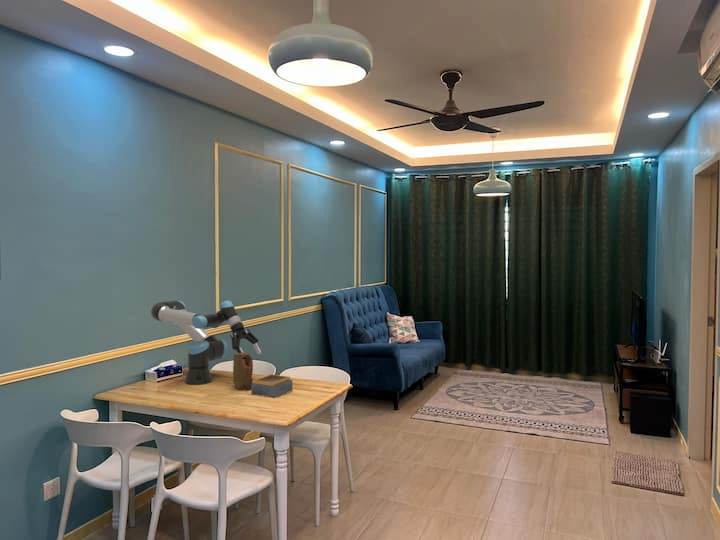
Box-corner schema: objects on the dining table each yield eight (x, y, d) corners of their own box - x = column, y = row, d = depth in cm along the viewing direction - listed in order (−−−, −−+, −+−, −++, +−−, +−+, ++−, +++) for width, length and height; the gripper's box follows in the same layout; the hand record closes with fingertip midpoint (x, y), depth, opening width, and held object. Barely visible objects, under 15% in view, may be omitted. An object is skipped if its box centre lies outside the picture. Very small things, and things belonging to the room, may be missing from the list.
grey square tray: (251, 393, 290) (251, 380, 290) (268, 387, 304) (268, 374, 304) (275, 397, 283) (275, 383, 282) (292, 390, 297) (292, 377, 297)
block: (231, 388, 301) (231, 353, 301) (242, 385, 307) (242, 351, 306) (244, 391, 295) (244, 355, 294) (254, 388, 301) (254, 353, 300)
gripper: (224, 324, 306) (240, 357, 301) (253, 318, 327) (269, 348, 323) (216, 331, 309) (232, 363, 305) (246, 324, 331) (261, 354, 326)
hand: (251, 355), depth 314 cm, fingers open, 13 cm apart
